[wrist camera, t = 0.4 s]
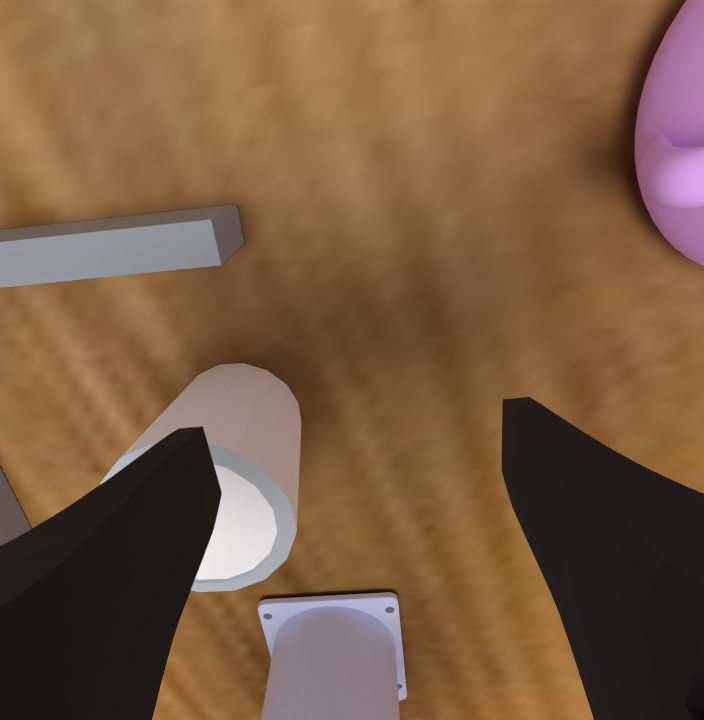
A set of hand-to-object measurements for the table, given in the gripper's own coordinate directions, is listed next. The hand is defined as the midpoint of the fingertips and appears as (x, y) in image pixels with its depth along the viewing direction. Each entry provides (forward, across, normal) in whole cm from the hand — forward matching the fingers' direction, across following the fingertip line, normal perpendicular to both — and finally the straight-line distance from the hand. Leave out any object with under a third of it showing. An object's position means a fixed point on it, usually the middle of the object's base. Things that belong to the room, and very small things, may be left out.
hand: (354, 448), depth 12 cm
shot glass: (+10, +6, +5) cm, 13 cm away
